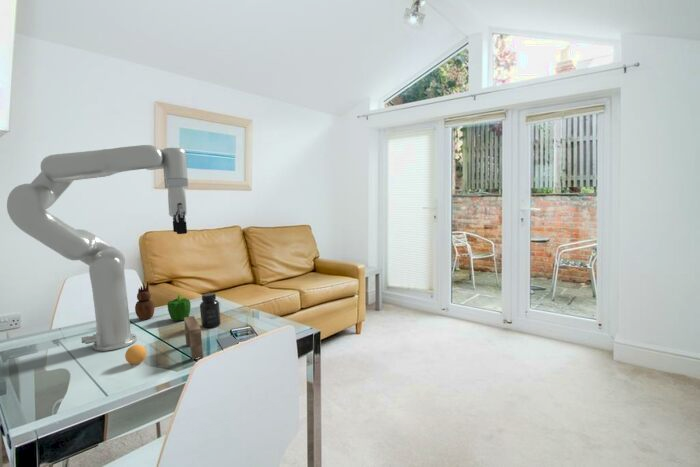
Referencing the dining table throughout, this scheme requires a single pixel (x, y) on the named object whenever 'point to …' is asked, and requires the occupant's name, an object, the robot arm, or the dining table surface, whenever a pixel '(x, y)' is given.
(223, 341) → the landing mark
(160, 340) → the dining table surface
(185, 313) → the bell pepper
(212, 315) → the supplement bottle
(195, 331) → the bridge
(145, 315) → the wooden figurine
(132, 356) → the ball
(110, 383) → the dining table surface
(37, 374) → the dining table surface
